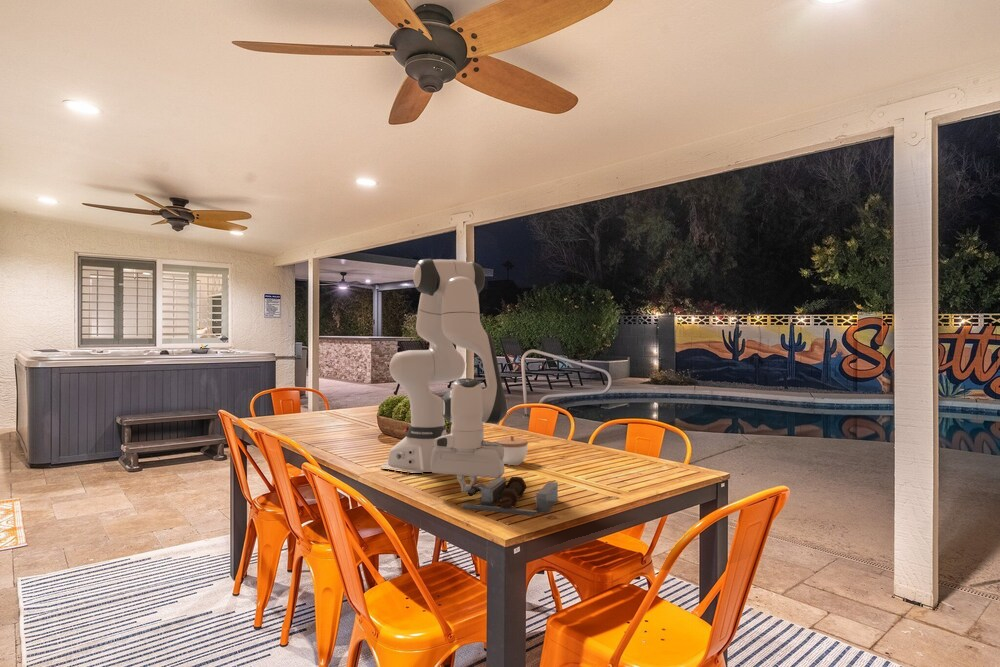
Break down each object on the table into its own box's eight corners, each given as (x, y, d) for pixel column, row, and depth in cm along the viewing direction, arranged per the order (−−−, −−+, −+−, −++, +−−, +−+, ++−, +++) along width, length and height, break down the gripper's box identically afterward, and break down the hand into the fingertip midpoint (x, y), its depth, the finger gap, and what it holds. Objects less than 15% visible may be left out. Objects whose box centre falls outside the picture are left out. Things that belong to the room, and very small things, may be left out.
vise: (462, 508, 141) (462, 489, 141) (483, 493, 155) (483, 476, 155) (543, 516, 134) (543, 497, 135) (557, 500, 148) (557, 482, 148)
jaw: (463, 504, 144) (463, 486, 144) (480, 492, 156) (480, 475, 156) (491, 507, 142) (491, 489, 142) (506, 494, 153) (506, 478, 153)
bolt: (502, 518, 140) (514, 499, 154) (519, 509, 139) (529, 491, 153) (491, 497, 140) (503, 480, 155) (508, 488, 139) (519, 472, 154)
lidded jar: (494, 466, 188) (494, 438, 188) (498, 459, 198) (498, 433, 198) (526, 467, 186) (526, 439, 187) (528, 460, 197) (528, 433, 197)
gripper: (507, 440, 150) (507, 492, 150) (438, 435, 157) (438, 485, 156) (499, 444, 144) (499, 498, 144) (428, 439, 151) (427, 491, 151)
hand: (467, 491), depth 150 cm, fingers closed
